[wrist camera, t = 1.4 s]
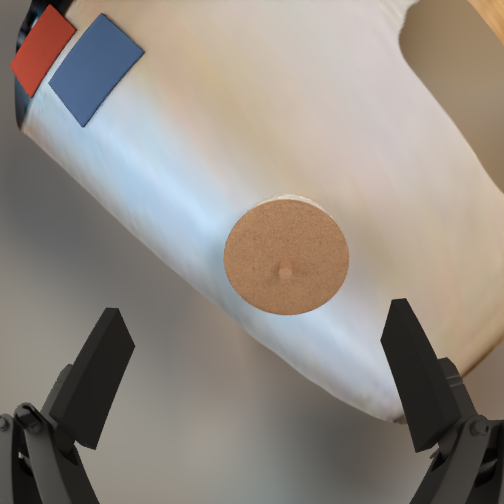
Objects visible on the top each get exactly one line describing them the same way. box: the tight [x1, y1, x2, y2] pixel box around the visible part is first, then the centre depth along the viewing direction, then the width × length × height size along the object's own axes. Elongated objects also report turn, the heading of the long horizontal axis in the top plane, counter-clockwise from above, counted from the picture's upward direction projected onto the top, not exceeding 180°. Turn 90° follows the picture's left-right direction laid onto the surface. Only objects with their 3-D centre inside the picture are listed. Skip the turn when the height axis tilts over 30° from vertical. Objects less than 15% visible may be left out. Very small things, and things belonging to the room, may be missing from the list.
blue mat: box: [48, 13, 145, 127], centre depth 30 cm, size 12×14×1 cm
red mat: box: [10, 4, 77, 98], centre depth 29 cm, size 12×14×1 cm
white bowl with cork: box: [224, 195, 349, 315], centre depth 32 cm, size 13×13×11 cm
